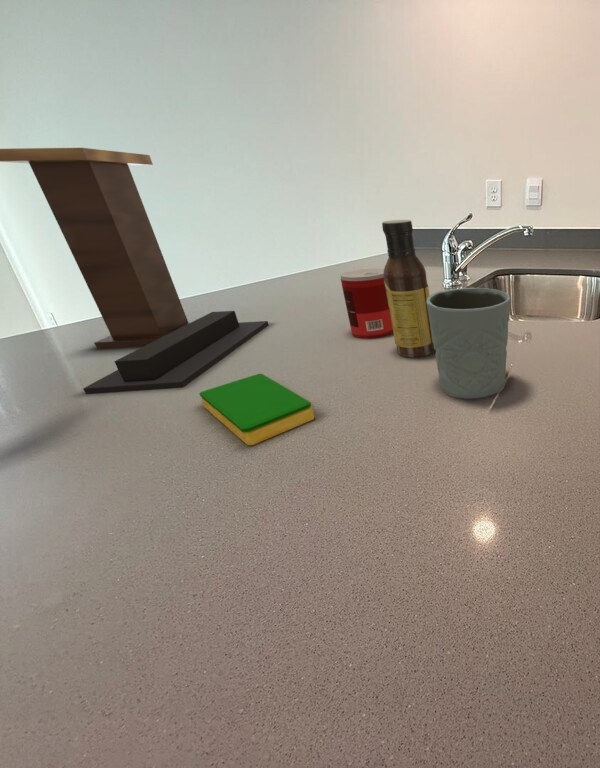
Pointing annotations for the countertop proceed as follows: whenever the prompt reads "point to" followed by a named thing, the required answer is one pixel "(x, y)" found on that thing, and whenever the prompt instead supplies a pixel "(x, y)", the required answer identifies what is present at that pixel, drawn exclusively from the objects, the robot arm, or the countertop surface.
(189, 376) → the black base pad
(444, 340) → the grey cup
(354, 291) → the canned food
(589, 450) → the countertop surface
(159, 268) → the stand
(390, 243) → the sauce bottle
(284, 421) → the dish sponge
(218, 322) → the long black bar
